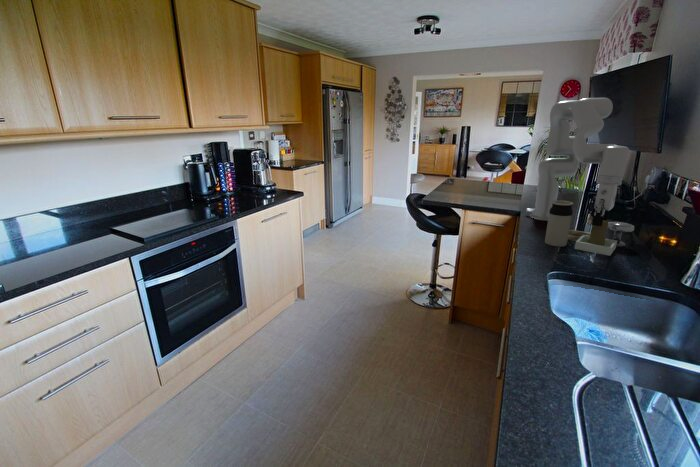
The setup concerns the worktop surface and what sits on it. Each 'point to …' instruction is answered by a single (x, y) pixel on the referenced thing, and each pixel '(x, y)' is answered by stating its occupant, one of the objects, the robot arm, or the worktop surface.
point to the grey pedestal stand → (619, 231)
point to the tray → (596, 246)
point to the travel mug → (559, 223)
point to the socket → (577, 233)
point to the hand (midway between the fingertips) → (599, 222)
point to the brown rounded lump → (598, 234)
